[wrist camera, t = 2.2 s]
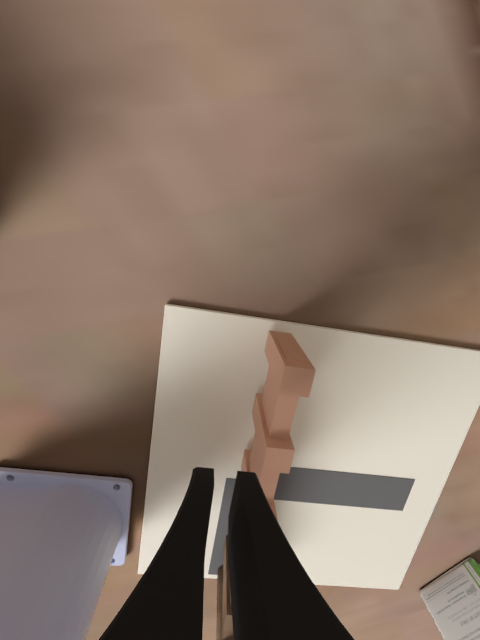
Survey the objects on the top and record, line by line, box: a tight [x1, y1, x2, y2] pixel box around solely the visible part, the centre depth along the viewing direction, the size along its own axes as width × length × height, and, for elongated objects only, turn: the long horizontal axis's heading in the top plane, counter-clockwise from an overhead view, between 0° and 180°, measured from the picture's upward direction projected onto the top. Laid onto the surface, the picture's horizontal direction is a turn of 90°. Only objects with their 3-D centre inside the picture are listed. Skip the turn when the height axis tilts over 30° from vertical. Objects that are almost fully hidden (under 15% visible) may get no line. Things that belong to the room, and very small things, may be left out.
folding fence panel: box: [241, 330, 316, 519], centre depth 17 cm, size 10×1×5 cm, turn 170°
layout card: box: [138, 303, 480, 590], centre depth 22 cm, size 22×22×1 cm
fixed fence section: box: [216, 535, 234, 640], centre depth 20 cm, size 2×11×6 cm, turn 170°
